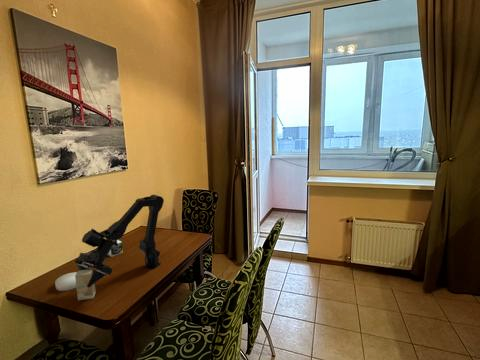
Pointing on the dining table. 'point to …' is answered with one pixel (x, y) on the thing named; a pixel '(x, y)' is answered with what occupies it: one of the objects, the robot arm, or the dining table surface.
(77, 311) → the dining table surface
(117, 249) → the medicine bottle
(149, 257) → the robot arm
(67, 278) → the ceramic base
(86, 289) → the skincare box
